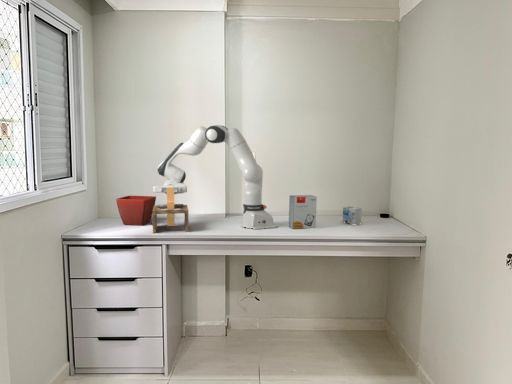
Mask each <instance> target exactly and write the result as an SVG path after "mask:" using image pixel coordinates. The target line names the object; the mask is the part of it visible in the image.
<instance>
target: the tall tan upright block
mask: <svg viewBox="0 0 512 384" xmlns="http://www.w3.org/2000/svg"><path fill="white" fill-rule="evenodd" d="M166 204H167V209H166V210H174V204H175V194H174V187H167V194H166ZM166 215H167V217H166V219H167V221H166V222H167V227H172V226H173V227H175V214H166Z"/></svg>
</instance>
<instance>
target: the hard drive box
mask: <svg viewBox="0 0 512 384" xmlns="http://www.w3.org/2000/svg"><path fill="white" fill-rule="evenodd" d="M317 199H318V197H317V196H315V195H313V194H312V195H311V194H309V195H307V194H304V195H303V194H302V195H301V194H299V195H298V194H297V195H295V194H294V195H293V194H292V195H289V205H288V227H289V228H291V229H293V230H294V229H297V230H298V229H315V228H316V219H317V204H318V203H317Z"/></svg>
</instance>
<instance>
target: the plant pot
mask: <svg viewBox="0 0 512 384" xmlns="http://www.w3.org/2000/svg"><path fill="white" fill-rule="evenodd" d="M115 200H116V206H117V210H118V213H119V216H120V219H121V221H122V224H123V225H128V226H129V225H130V226H144V225H146V224H148V223H150V222H151V219H152V218H153V207H154V205H156V200H157V196H155V195H153V196H152V195H126V196H122V197H118V198H116V199H115Z"/></svg>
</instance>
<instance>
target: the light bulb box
mask: <svg viewBox="0 0 512 384" xmlns="http://www.w3.org/2000/svg"><path fill="white" fill-rule="evenodd" d="M362 211H363V209H362V207H355V206H350V205H348V206H343V207H342V221H341V223H342V222H345V223H344V224H346V223H350V224H349V225H351V224H360V223H361V224H362V214H363V213H362ZM361 224H360V225H361Z"/></svg>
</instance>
